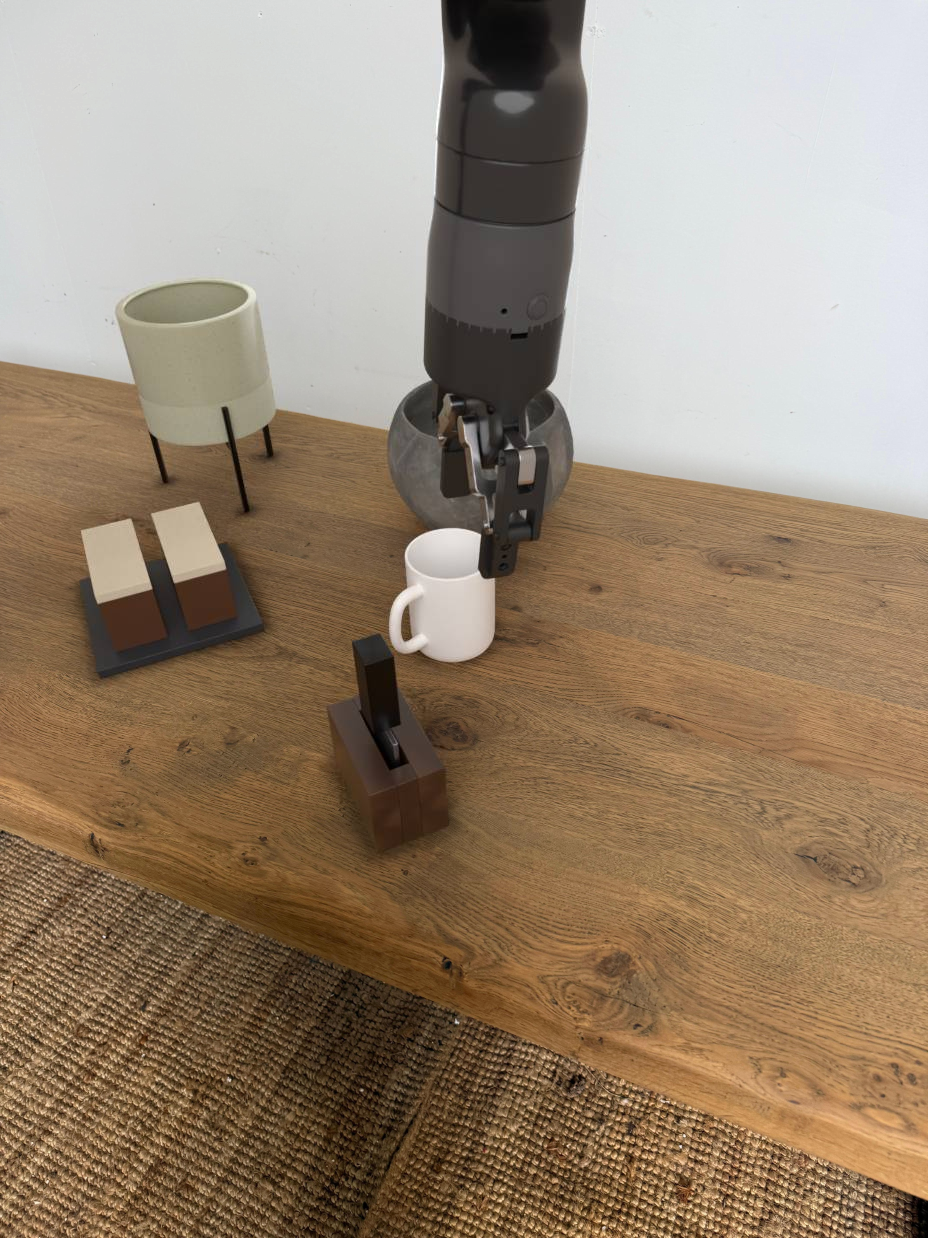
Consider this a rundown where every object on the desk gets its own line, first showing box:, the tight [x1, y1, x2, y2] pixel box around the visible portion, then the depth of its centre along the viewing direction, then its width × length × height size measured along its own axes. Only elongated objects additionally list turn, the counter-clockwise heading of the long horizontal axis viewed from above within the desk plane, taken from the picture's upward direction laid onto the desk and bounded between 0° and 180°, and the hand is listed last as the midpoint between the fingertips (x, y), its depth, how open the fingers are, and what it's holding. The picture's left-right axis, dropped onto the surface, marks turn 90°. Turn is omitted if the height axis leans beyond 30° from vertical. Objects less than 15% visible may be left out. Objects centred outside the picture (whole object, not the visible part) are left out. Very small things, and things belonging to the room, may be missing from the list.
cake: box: [79, 501, 265, 680], centre depth 88 cm, size 16×16×8 cm
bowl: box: [386, 379, 575, 534], centre depth 97 cm, size 20×20×15 cm
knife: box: [351, 632, 401, 771], centre depth 66 cm, size 2×6×16 cm, turn 25°
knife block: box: [325, 685, 449, 854], centre depth 69 cm, size 6×10×7 cm, turn 25°
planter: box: [114, 277, 277, 514], centre depth 103 cm, size 15×16×23 cm
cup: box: [388, 528, 496, 663], centre depth 81 cm, size 8×12×10 cm
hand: (475, 532), depth 57 cm, fingers open, 8 cm apart
